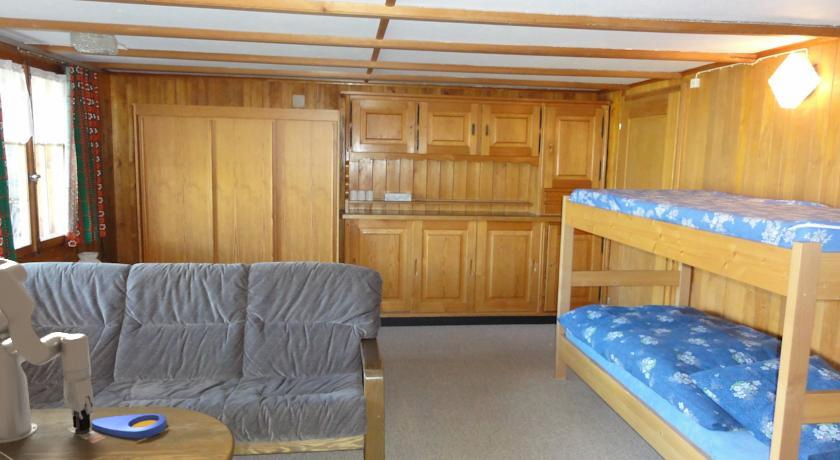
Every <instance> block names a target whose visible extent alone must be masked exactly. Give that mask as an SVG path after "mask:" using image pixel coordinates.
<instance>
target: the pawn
mask: <svg viewBox="0 0 840 460" xmlns="http://www.w3.org/2000/svg"><path fill="white" fill-rule="evenodd" d="M84 408H85V407H84ZM85 411H86V410H85ZM85 411H82V412H83V413H84V412H85ZM75 416H76V426H77V428H76V429H75V434H74V435H76V434H77V435H76V436H78V435H80V436H81V434H83V435H84V434H86V433H87V432H88V433H89V431H90V430H91V429H90V428H88V429H86V430H83V431H80V430H79V419H80V416H79V412H77V411H75ZM90 432H91V431H90Z"/></svg>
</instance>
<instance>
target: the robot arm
mask: <svg viewBox="0 0 840 460" xmlns="http://www.w3.org/2000/svg"><path fill="white" fill-rule="evenodd" d="M28 276H29V275H28V271H27V269H26V268H25V267H24V266H23V265H22V264H20V263H19V262H16V261H13V260H9V259H6V258H1V257H0V444H7V443H13V442H16V441H20V440H21V441H22V440H23V439H25V438H28V437H30V436H32V435H34V434H35V433H36V432H37V431H38V427H39V426H38V425H37V424H36V423H33V422H32V416H31V407H30V398H29V397H30V395H29V388H28V387H29V385H28V378H27V374H26V373H25V371H24V369H23V367H22V363H24V362H27V363H30V364H31V365H34V366H43V365H45V364H48V363H49V362H51V361H53V360H54V359H56V358H59V357H60V356H61V361H62V371H63V404H64V406H65V407H67V408H68V409H71V416H72V423H73V426H72V427H74V428H77V426H76V416H75V411H77V412H79V416H80V419H79V430H80V431H83V430H86V429H88V428H89V429H90V428H92V425H91V414H93V407H94V404H95V403H94V401H95V400H94V391H93V386H92V381H91V380H92V379H91V376H92V369H91V368H92V367H91V358H90V357H91V356H90V346H89V344H90V343H89V337H88V335H87V334H85V333H78V332H77V333H64V332H60V331H59V332H57V331H56V332H50V333H48V334H46V335H44V336H42V337H41V338H39V337H38V335H37V333H36V332H35V331H34V329H33V327H32V323H31V319H32V318H31V317H32V314H33V312H34V309H35V307H36V306H35V305H36V302H35V300H34V299H33V298H32V297H31V295H30V294H29V293H28V291H27V290H26V289H25V287H23V285H24V284H25V283H26V282H27V280H28ZM84 407H85V408H84ZM85 410H86V411H85ZM82 411H85V412H84V413H83V412H82Z"/></svg>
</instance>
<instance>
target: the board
mask: <svg viewBox="0 0 840 460" xmlns="http://www.w3.org/2000/svg"><path fill="white" fill-rule="evenodd" d="M75 429H76V428H74V426H71V427H69V428H66V430H67V431H69V432H70V433H73V434H74V435H76V436H78V437H79V438H82V439H84V440H86V441H87V442H89V443H91V444H95V443H96V442H99V441H102V440H104V439H106V438H107V437H106V436H103V435H101V434H100V433H98V432H96V431H93V430H92V429H90V431H89V432H87V433H85V434H81V435H77V434H75Z"/></svg>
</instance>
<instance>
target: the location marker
mask: <svg viewBox="0 0 840 460" xmlns="http://www.w3.org/2000/svg"><path fill="white" fill-rule="evenodd" d="M90 424H91V428H92V429H93V430H95V431H97V432H100V433H103V434H106V435H110V436H115V437H121V438H126V439H140V440H142V439H148V438H151V437H154V436H157V435H159V434H161V433H162V432H163V431H165V430H166V428H167V426H168V421H167V417H166V416H165V415H164V414H162V413H136V414H125V415H115V416H105V417H101V418H96V419H93V420H91V421H90Z"/></svg>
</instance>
